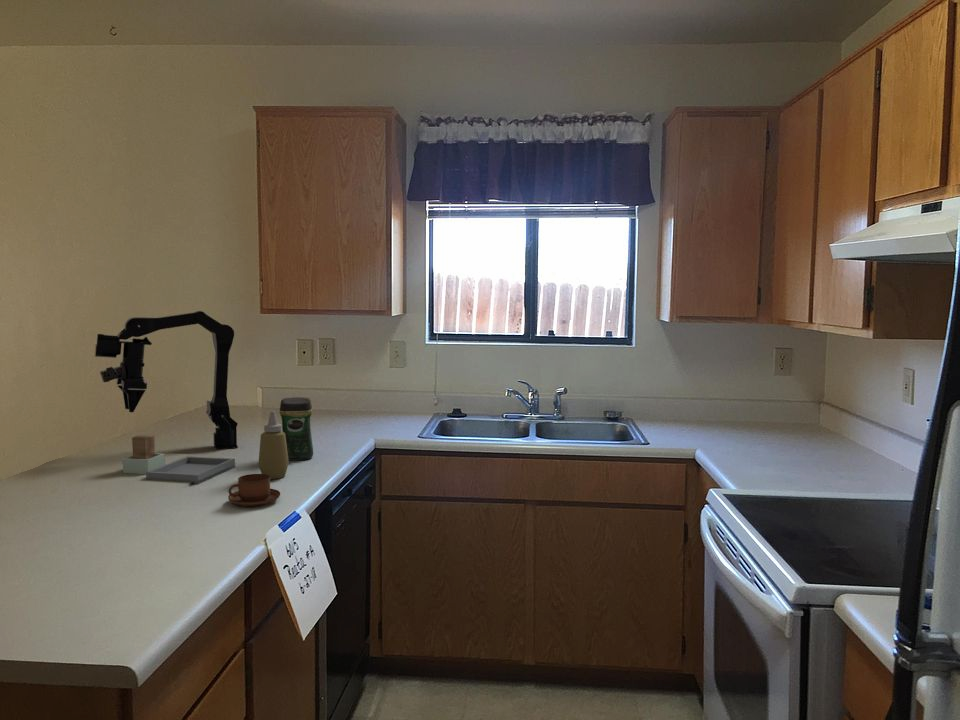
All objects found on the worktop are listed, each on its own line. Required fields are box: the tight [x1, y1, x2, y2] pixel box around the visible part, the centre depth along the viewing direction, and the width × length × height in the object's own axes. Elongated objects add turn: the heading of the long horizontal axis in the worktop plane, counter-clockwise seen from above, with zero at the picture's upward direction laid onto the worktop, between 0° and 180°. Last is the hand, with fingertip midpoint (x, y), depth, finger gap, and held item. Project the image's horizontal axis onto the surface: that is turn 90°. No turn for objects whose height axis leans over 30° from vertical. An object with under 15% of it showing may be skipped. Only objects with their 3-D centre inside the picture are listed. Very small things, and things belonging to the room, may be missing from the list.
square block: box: [131, 434, 156, 459], centre depth 200 cm, size 4×4×10 cm
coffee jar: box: [279, 396, 314, 461], centre depth 218 cm, size 10×8×19 cm
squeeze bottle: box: [257, 410, 290, 480], centre depth 196 cm, size 8×8×18 cm
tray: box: [145, 455, 236, 485], centre depth 199 cm, size 19×15×2 cm
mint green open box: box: [122, 452, 166, 475], centre depth 200 cm, size 8×8×4 cm
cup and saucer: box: [227, 473, 281, 507], centre depth 173 cm, size 12×12×6 cm
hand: (129, 410), depth 217 cm, fingers open, 9 cm apart
